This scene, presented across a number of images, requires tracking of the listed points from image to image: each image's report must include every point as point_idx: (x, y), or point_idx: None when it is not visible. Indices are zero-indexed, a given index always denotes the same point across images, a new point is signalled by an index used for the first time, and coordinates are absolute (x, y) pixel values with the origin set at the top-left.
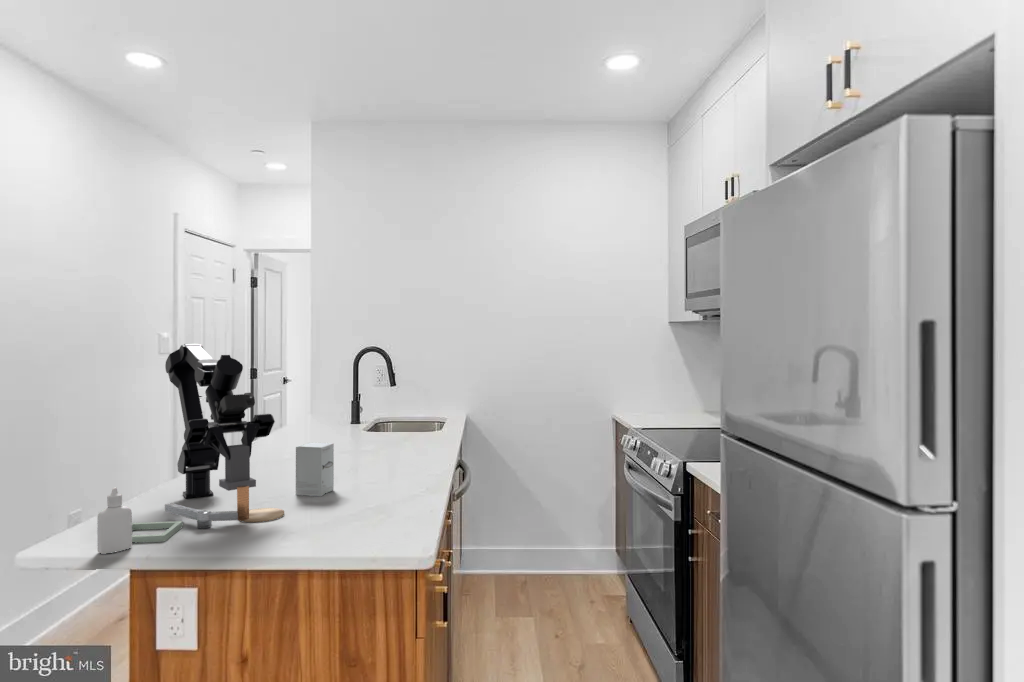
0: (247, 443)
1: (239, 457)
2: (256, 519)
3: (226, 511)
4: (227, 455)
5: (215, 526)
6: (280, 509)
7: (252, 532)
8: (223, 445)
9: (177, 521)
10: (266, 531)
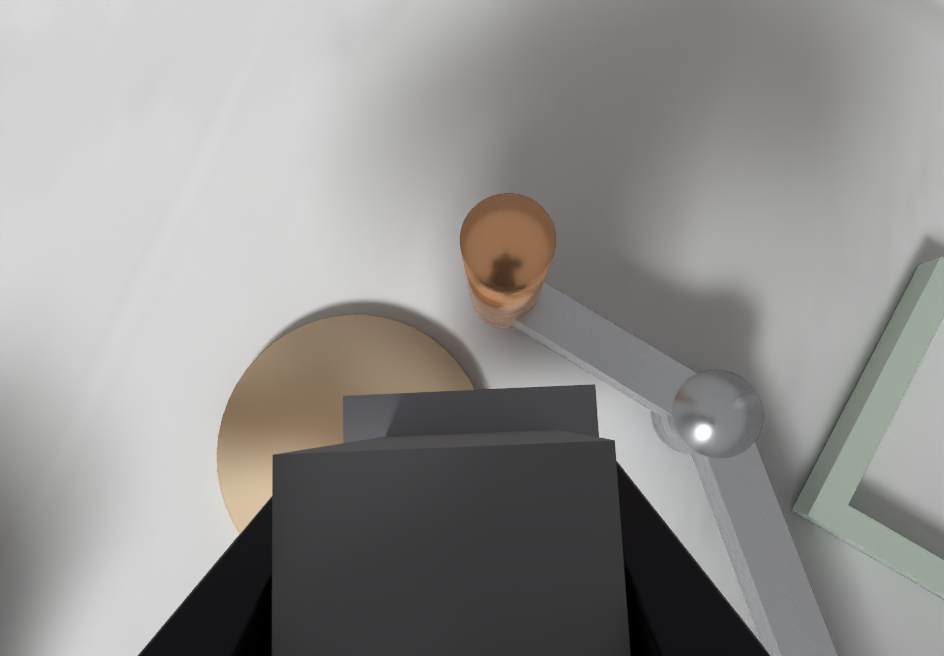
0: (236, 644)
1: (469, 439)
2: (418, 334)
3: (589, 360)
4: (635, 493)
5: None
6: (223, 473)
7: (500, 158)
8: (734, 637)
9: (837, 529)
10: (437, 133)
